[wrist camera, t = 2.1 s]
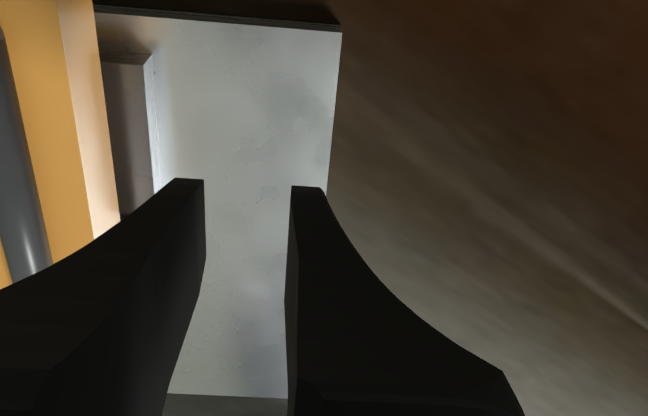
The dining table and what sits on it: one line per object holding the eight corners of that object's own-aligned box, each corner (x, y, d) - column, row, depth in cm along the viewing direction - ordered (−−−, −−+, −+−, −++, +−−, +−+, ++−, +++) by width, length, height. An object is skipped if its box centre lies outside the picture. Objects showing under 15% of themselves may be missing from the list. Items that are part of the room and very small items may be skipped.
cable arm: (146, 427, 26) (124, 502, 23) (65, 423, 26) (32, 498, 23) (86, -44, 15) (31, -18, 12) (-52, -56, 15) (-142, -33, 12)
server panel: (305, 383, 29) (304, 429, 27) (-60, 365, 28) (-93, 411, 26) (340, 24, 19) (344, 48, 17) (-213, -22, 18) (-288, -4, 16)
